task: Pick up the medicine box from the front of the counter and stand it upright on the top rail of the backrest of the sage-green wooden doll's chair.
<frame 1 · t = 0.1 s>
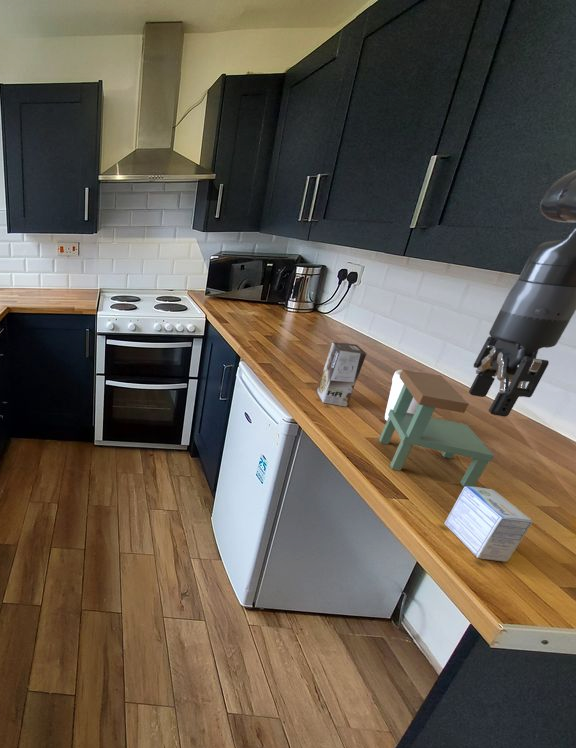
hand: (486, 404, 69), 21 cm above the worktop, tool pointing down, fingers open, 8 cm apart
coffee box: (330, 399, 118), on the worktop
chair: (421, 462, 89), on the worktop
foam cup: (398, 422, 106), on the worktop
medicine box: (472, 543, 67), on the worktop
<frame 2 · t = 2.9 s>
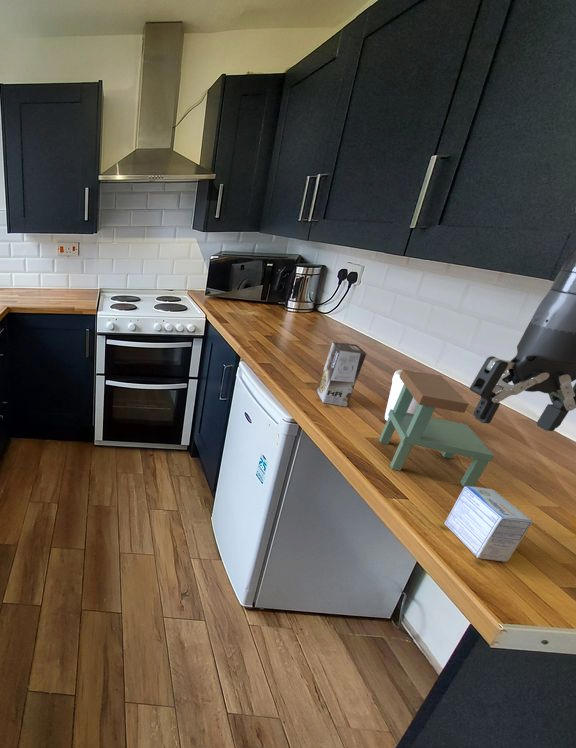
hand: (512, 424, 63), 20 cm above the worktop, tool pointing down, fingers open, 8 cm apart
nothing on the worktop moved.
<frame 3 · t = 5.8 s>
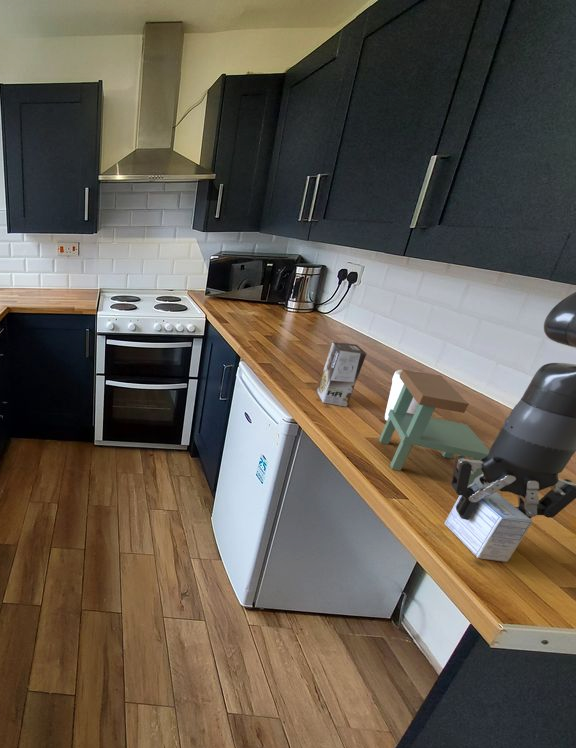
hand: (485, 522, 66), 4 cm above the worktop, tool pointing down, fingers closed on medicine box, 5 cm apart
medicine box: (472, 543, 67), on the worktop, touching gripper
everything else where it was.
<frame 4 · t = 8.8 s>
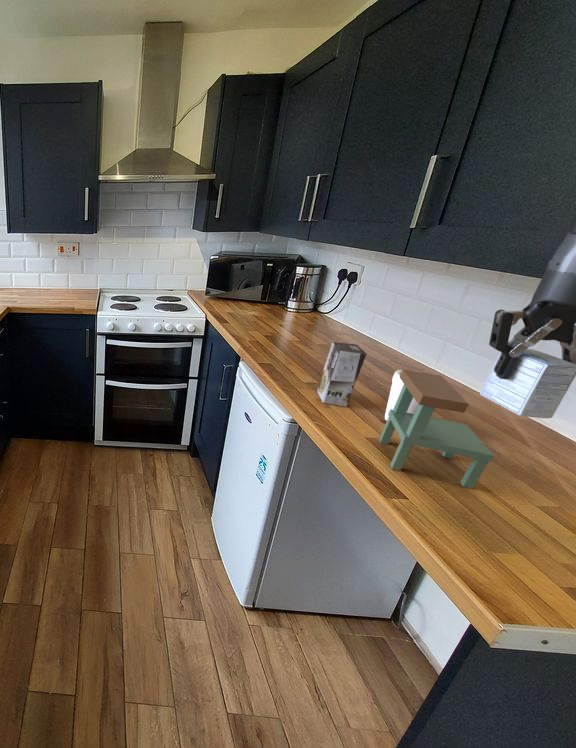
hand: (526, 381, 62), 27 cm above the worktop, tool pointing down, fingers closed on medicine box, 5 cm apart
medicine box: (512, 407, 64), point 22 cm above the worktop, touching gripper
everything else where it was.
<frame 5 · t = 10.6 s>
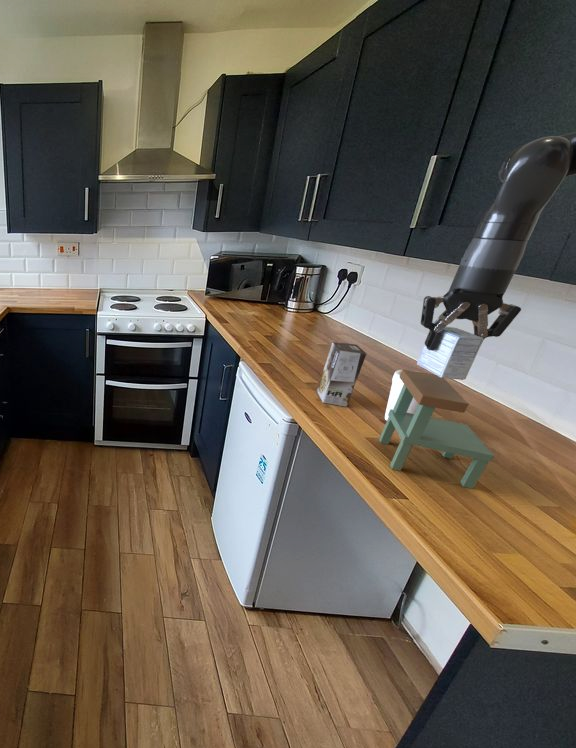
hand: (448, 351, 80), 25 cm above the worktop, tool pointing down, fingers closed on medicine box, 5 cm apart
medicine box: (438, 373, 82), point 21 cm above the worktop, touching gripper
everything else where it was.
when the fingers open (22 cm above the worktop, at t = 11.9 s): medicine box stays where it is, resting on chair.
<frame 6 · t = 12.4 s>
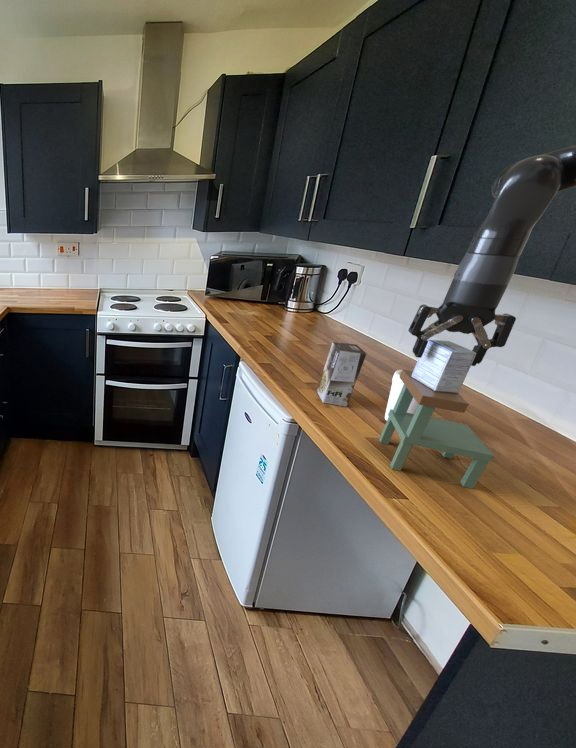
hand: (443, 360, 81), 23 cm above the worktop, tool pointing down, fingers open, 8 cm apart
medicine box: (432, 385, 83), point 18 cm above the worktop, touching chair
everything else where it was.
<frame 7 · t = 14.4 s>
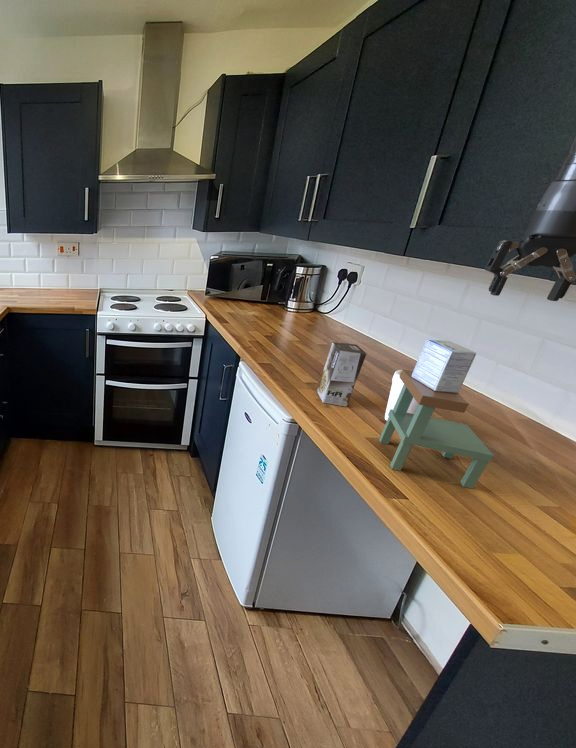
hand: (522, 297, 80), 36 cm above the worktop, tool pointing down, fingers open, 8 cm apart
nothing on the worktop moved.
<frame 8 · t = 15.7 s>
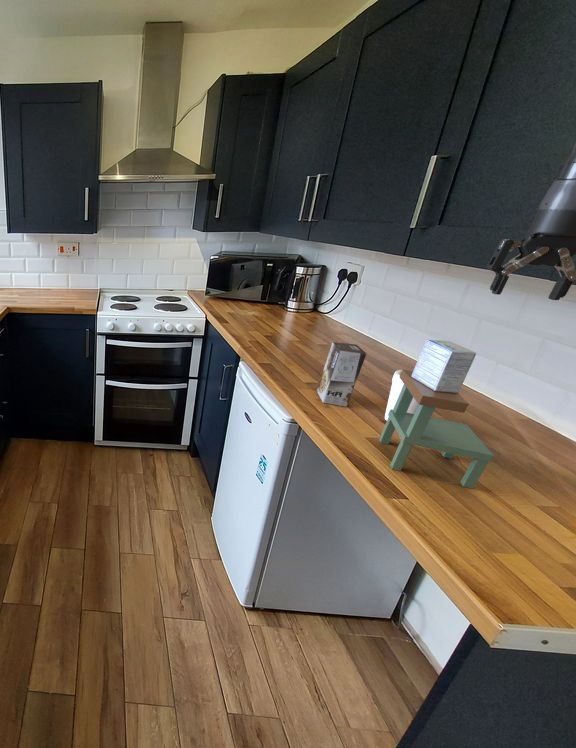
hand: (523, 296, 80), 36 cm above the worktop, tool pointing down, fingers open, 8 cm apart
nothing on the worktop moved.
at the end: medicine box inside the target area on the chair (0.1 cm from its centre), point 17.8 cm above the chair's base; medicine box tilted 0°; the gripper is holding nothing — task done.
